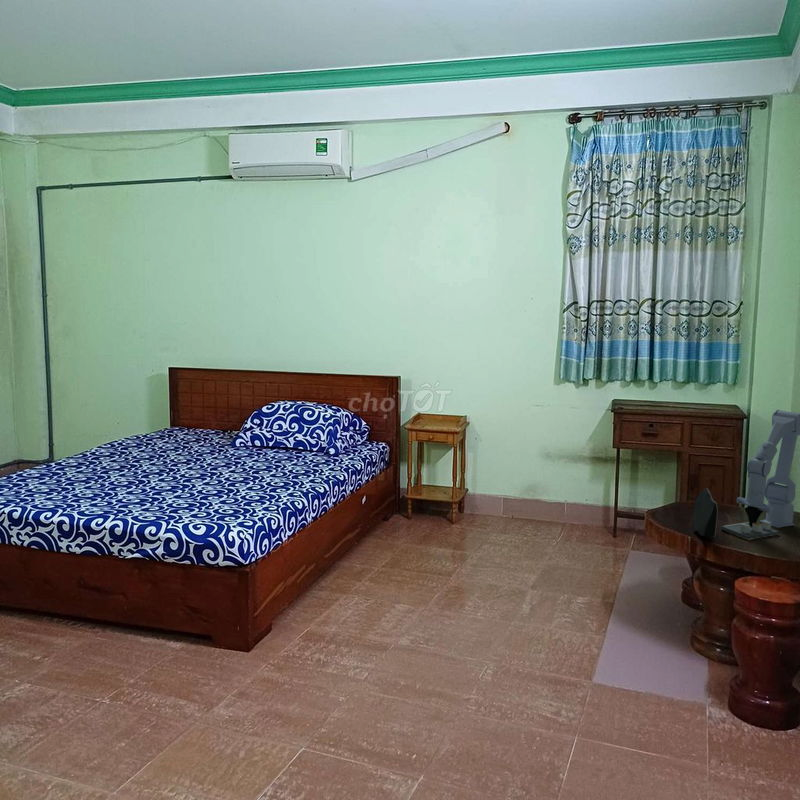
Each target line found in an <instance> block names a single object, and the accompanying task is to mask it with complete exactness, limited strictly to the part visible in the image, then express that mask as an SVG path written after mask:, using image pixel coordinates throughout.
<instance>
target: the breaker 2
mask: <svg viewBox="0 0 800 800" xmlns="http://www.w3.org/2000/svg"><path fill="white" fill-rule="evenodd" d="M761 524H762V528H763V529H766V530H771V529H772V526H771V522H769V521H762V522H761Z"/></svg>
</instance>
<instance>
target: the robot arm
mask: <svg viewBox="0 0 800 800" xmlns="http://www.w3.org/2000/svg"><path fill="white" fill-rule="evenodd" d="M771 425H772V428H771V430H770V433H769V435H768V437H767V440H766V442H763V443H761V444H760V446H759V448H758V450H757V452H756V454H755V456H754V457H753V458H750V460H748V462H747V466H746V470H747V471H746V472H747V478H748V485H747V494H746V498H745V497H736V503H737V504H741V505H745V506H747V507H744V510H745V513H746V515H747V518H748V519H747V520H748V522H749V525H750V527H752V524H753V523H755V522H756V523H758V519H759V517H760V516H761V515H762V513H764V512H765V513H766V515H765V519H760V523H762V521H769V522H771V527H774V528H776V529H777V528H783V527H784V528H785V527H791V526H794V525H795V523H793V519H794V511H795V507H794V504H793V501H794V500H795V497H796V483H795V482H794V481H793V480H792V479H791V478H790V475H791V470H792V465H793V459H794V455H795V451H796V445H797V439H798V436H800V412H799V413H798V412H792V411H787V410H780V409H776V410H775V411H774V412H773V413H772V415H771ZM780 441H781V442H780ZM779 443H780V448H779V454H778V457H777V458H778V459H777V463H776V468H775V473H774V475H773V476H770V477H769V478H767V476H769V474H770V473H771V469H772V465H773V460H774V458H775V456H776V454H777V452H778V444H779ZM765 498H766V501H767V504H766V503H764V502H765V501H764V500H765Z"/></svg>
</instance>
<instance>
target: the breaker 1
mask: <svg viewBox="0 0 800 800" xmlns="http://www.w3.org/2000/svg"><path fill="white" fill-rule="evenodd" d="M741 532H743V533H750V525H747V524H741Z"/></svg>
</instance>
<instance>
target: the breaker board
mask: <svg viewBox="0 0 800 800" xmlns="http://www.w3.org/2000/svg"><path fill="white" fill-rule="evenodd" d="M741 524H747V525H749V521H747V522H741V523H734V524H733V523H732V524H728V525H727V524H726V525H721V526H720V527H721V528H720V531H722V530H724V531H726V532H725V533H727V532H729V533H728V534H730V533H732V534H735V535H738V536H741V537H744V538H747V539H750V538H756V537H764V536H770V535H777V534H779V533H780V532H779V531H778V530H776V529H773V528H771V530H766V529H763V528H762V526H761V532H756V531H753V530H752V527H750V533H743V532H741ZM724 531H723V532H724ZM732 534H731V535H732ZM735 535H734V536H735Z"/></svg>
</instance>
